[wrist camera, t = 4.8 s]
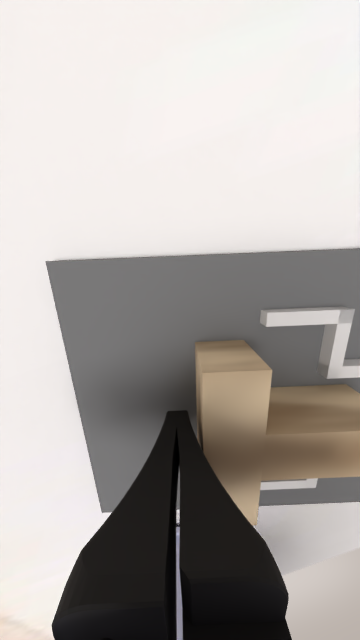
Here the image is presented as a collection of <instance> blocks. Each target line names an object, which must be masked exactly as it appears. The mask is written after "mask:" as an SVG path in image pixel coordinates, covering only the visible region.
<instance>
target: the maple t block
mask: <svg viewBox="0 0 360 640" xmlns="http://www.w3.org/2000/svg"><path fill="white" fill-rule="evenodd" d="M195 364H196V405H197V440H198V442H199V444H200V447H201V449H202V451H203V453H204V455H205V457H206V458H207V460H208V462H209V464H210V466H211V467H212V469H213V471H214V472H215V474H216V476H217V477H218V479H219V481H220V482H221V484H222V485H223V487H224V488H225V490H226V491H227V492H228V494H229V495H230V497H231V498H232V500H233V501H234V503H235V504H236V505H237V507H238V508H239V509H240V511H241V512H242V513H243V515H244V516H245V517H246V519H247V520H248V521H249V522H250V524H251V525H257V517H258V507H259V497H260V487H261V481H267V480H291V479H314V478H338V477H360V393H358V392H357V391H355V390H354V389H352V388H351V387H349V386H348V385H346V384H338V385H316V386H293V387H271V378H272V369H271V368H270V367H269V366H268V365H267V364H266V363H265V362H264V361H263V360H262V359H261V358H260V357H259V356H258V354H257V353H256V352H255V351H254V350H253V349H252V348H251V347H250V346H249V345H248V344H247V343H246V342H245V341H244V340H230V341H207V342H195Z"/></svg>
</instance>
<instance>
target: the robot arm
mask: <svg viewBox="0 0 360 640" xmlns="http://www.w3.org/2000/svg"><path fill="white" fill-rule="evenodd" d="M179 470H180V527H176V508H177V490H178V475H179ZM287 605H288V592H287V589H286V586H285V583H284V581H283V578H282V576H281V573H280V571H279V569H278V566H277V564H276V562H275V560H274V558H273V556H272V554H271V552H270V550H269V548H268V546H267V544H266V542H265V541H264V539H263V538H262V537H261V536H260V535H259V533H258V532H257V531H256V530H255V529H254V527H253V526H252V525H251V524H250V522H249V521H248V520H247V519H246V517H245V516H244V515H243V513H242V512H241V511H240V509H239V508H238V507H237V505H236V504H235V503H234V501H233V500H232V498H231V497H230V495H229V494H228V492H227V491H226V490H225V488H224V487H223V485H222V484H221V482H220V481H219V479H218V477H217V476H216V474H215V472H214V471H213V469H212V467H211V466H210V464H209V462H208V460H207V458H206V457H205V455H204V453H203V451H202V449H201V447H200V444H199V442H198V440H197V438H196V435H195V433H194V431H193V428H192V425H191V422H190V419H189V415H188V411H187V410H180V411H168V412H167V413H166V417H165V420H164V423H163V426H162V428H161V431H160V433H159V436H158V438H157V440H156V442H155V445H154V447H153V449H152V451H151V453H150V455H149V457H148V458H147V460H146V462H145V464H144V466H143V467H142V469H141V471H140V472H139V474H138V476H137V477H136V479H135V480H134V482H133V484H132V485H131V487H130V488H129V490H128V491H127V493H126V494H125V496H124V497H123V498H122V500H121V501H120V502H119V504H118V505H117V507H116V508H115V509H114V511H113V512H112V513H111V515H110V516H109V517H108V519H107V520H106V521H105V522H104V524H103V525H102V526H101V527H100V529H99V530H98V531H97V532H96V533H95V535H94V536H93V537H92V538H91V539H90V541H89V542H88V543H87V544H86V545H85V547H84V548H83V549H82V550H81V552H80V554H79V557H78V559H77V561H76V563H75V565H74V567H73V569H72V572H71V574H70V576H69V579H68V581H67V583H66V586H65V588H64V591H63V594H62V597H61V600H60V603H59V606H58V608H57V611H56V614H55V617H54V620H53V623H52V631H53V636H54V638H55V640H292V639H291V636H290V632H289V629H288V626H287V622H286V619H285V615H286V610H287Z"/></svg>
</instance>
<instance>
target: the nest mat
mask: <svg viewBox="0 0 360 640" xmlns="http://www.w3.org/2000/svg"><path fill="white" fill-rule="evenodd" d="M46 266H47V270H48V274H49V279H50V283H51V288H52V292H53V297H54V301H55V306H56V310H57V315H58V319H59V323H60V328H61V332H62V337H63V341H64V346H65V350H66V355H67V359H68V364H69V368H70V372H71V377H72V381H73V386H74V390H75V395H76V399H77V404H78V408H79V413H80V417H81V421H82V426H83V430H84V435H85V439H86V444H87V448H88V453H89V457H90V462H91V466H92V470H93V475H94V479H95V484H96V488H97V493H98V497H99V502H100V506H101V511H102V513H104V512H113V511H114V509H115V508H116V507H117V505H118V504H119V502H120V501H121V500H122V498H123V497H124V496H125V494H126V493H127V491H128V490H129V488H130V487H131V485H132V484H133V482H134V480H135V479H136V477H137V476H138V474H139V472H140V471H141V469H142V467H143V466H144V464H145V462H146V460H147V458H148V457H149V455H150V453H151V451H152V449H153V447H154V445H155V442H156V440H157V438H158V436H159V433H160V431H161V428H162V426H163V423H164V420H165V417H166V413H167V412H168V411H180V410H187V411H188V415H189V419H190V422H191V425H192V428H193V431H194V433H195V435H196V438H197V405H196V364H195V342H207V341H230V340H244V341H245V342H246V343H247V344H248V345H249V346H250V347H251V348H252V349H253V350H254V351H255V352H256V353H257V354H258V356H259V357H260V358H261V359H262V360H263V361H264V362H265V363H266V364H267V365H268V366H269V367H270V368H271V369H272V378H271V387H293V386H316V385H338V384H346V385H348V386H349V387H351V388H352V389H354V390H355V391H357V392H358V393H360V249H336V250H311V251H287V252H263V253H239V254H214V255H190V256H166V257H142V258H117V259H93V260H69V261H46ZM342 502H360V477H338V478H314V479H291V480H267V481H261V487H260V497H259V506H270V505H294V504H318V503H342ZM176 509H180V470H179V475H178V490H177V508H176Z"/></svg>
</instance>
